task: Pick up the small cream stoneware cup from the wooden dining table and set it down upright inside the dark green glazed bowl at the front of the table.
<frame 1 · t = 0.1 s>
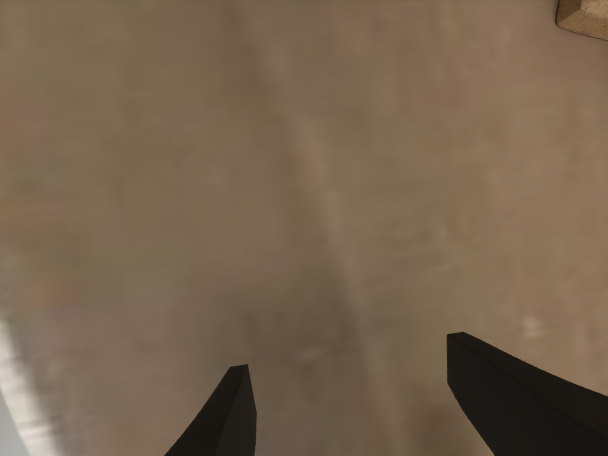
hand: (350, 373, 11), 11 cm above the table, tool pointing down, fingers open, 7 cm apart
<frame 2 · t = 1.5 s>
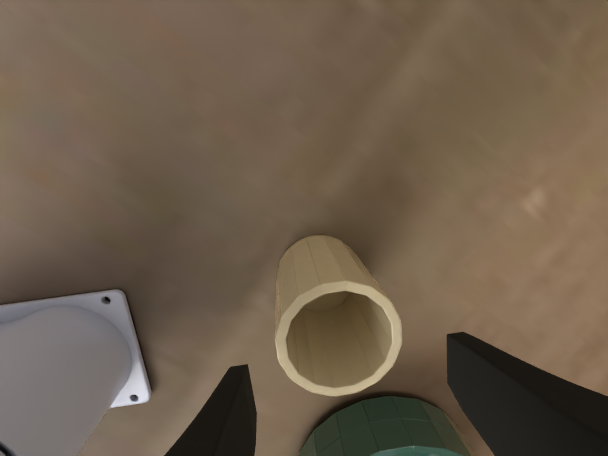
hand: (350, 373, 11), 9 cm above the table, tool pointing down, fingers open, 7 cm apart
cup: (318, 274, 21), on the table
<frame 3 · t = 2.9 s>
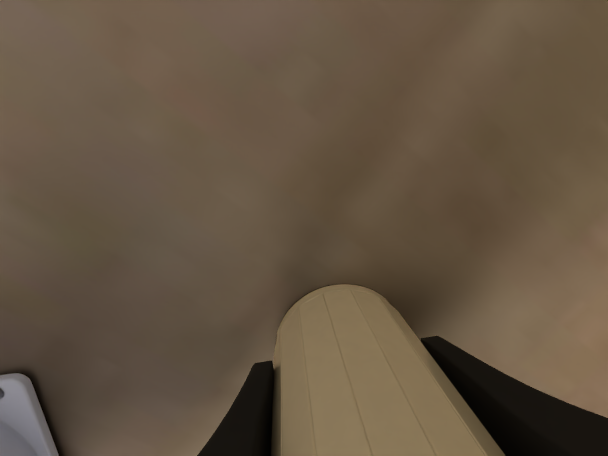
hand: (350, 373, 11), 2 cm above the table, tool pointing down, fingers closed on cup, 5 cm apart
cup: (340, 344, 13), on the table, touching gripper
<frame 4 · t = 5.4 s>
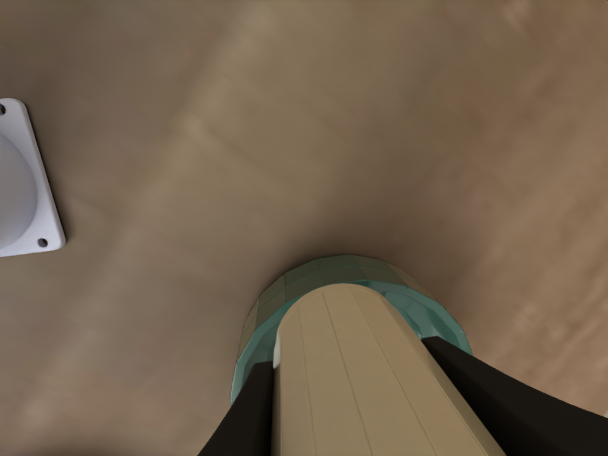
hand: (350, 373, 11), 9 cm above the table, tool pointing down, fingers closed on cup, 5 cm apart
bowl: (340, 346, 21), on the table
cup: (340, 343, 13), point 7 cm above the table, touching gripper
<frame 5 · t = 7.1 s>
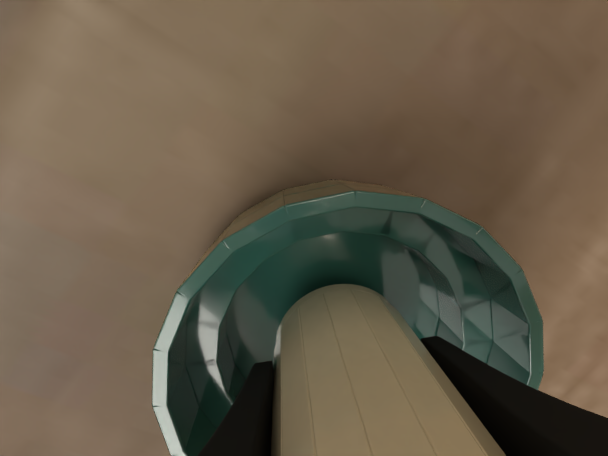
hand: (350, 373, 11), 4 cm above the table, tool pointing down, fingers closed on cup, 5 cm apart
bowl: (333, 320, 15), on the table
cup: (340, 343, 13), point 2 cm above the table, touching gripper
when the fingers open (2 cm above the table, at t = 8.1 s): cup stays where it is, resting on bowl.
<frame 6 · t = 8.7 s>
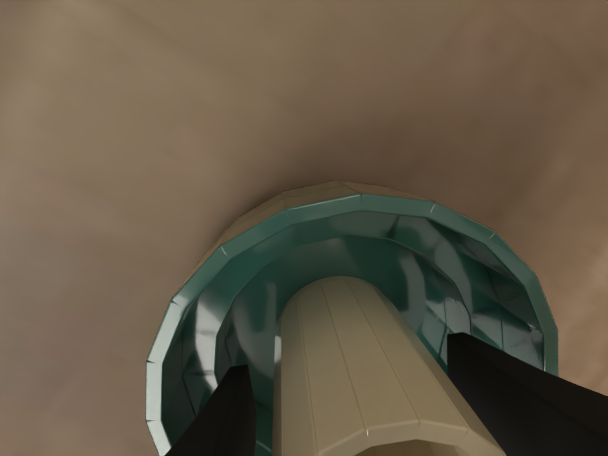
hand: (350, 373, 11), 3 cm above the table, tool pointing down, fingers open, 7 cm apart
bowl: (336, 326, 14), on the table
cup: (337, 332, 14), resting on bowl
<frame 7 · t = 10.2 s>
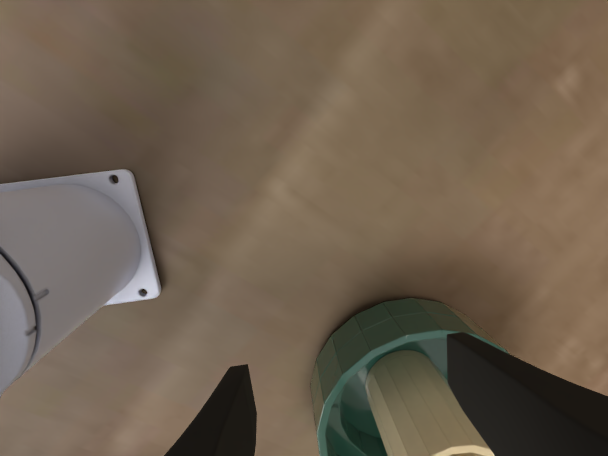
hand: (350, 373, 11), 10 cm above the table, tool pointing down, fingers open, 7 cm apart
bowl: (399, 377, 23), on the table
cup: (401, 382, 23), resting on bowl
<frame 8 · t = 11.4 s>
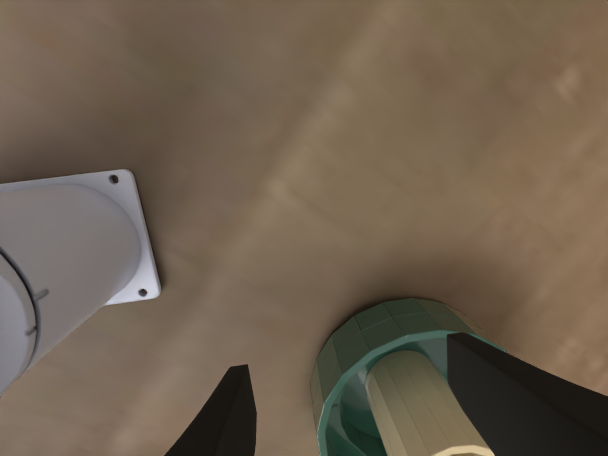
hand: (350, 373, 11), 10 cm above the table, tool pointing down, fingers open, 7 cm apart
bowl: (399, 378, 23), on the table
cup: (401, 382, 23), resting on bowl
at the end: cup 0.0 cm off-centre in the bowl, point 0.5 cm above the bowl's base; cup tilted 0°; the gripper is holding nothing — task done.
